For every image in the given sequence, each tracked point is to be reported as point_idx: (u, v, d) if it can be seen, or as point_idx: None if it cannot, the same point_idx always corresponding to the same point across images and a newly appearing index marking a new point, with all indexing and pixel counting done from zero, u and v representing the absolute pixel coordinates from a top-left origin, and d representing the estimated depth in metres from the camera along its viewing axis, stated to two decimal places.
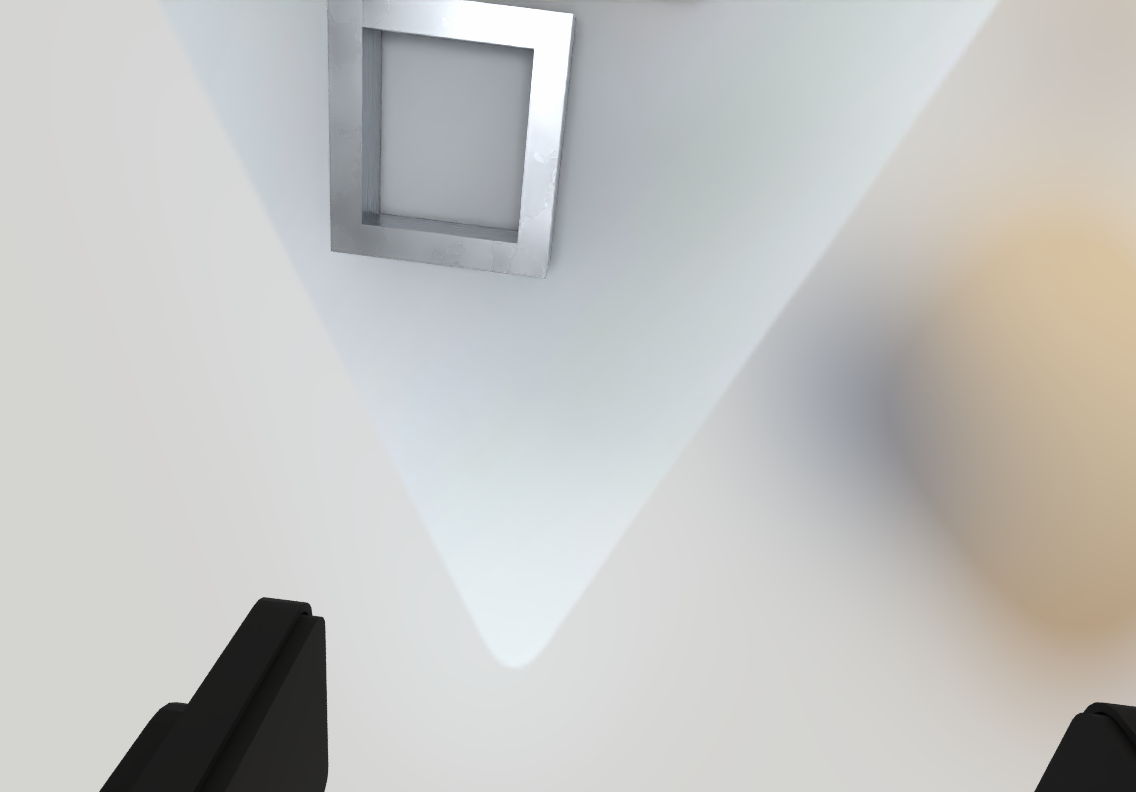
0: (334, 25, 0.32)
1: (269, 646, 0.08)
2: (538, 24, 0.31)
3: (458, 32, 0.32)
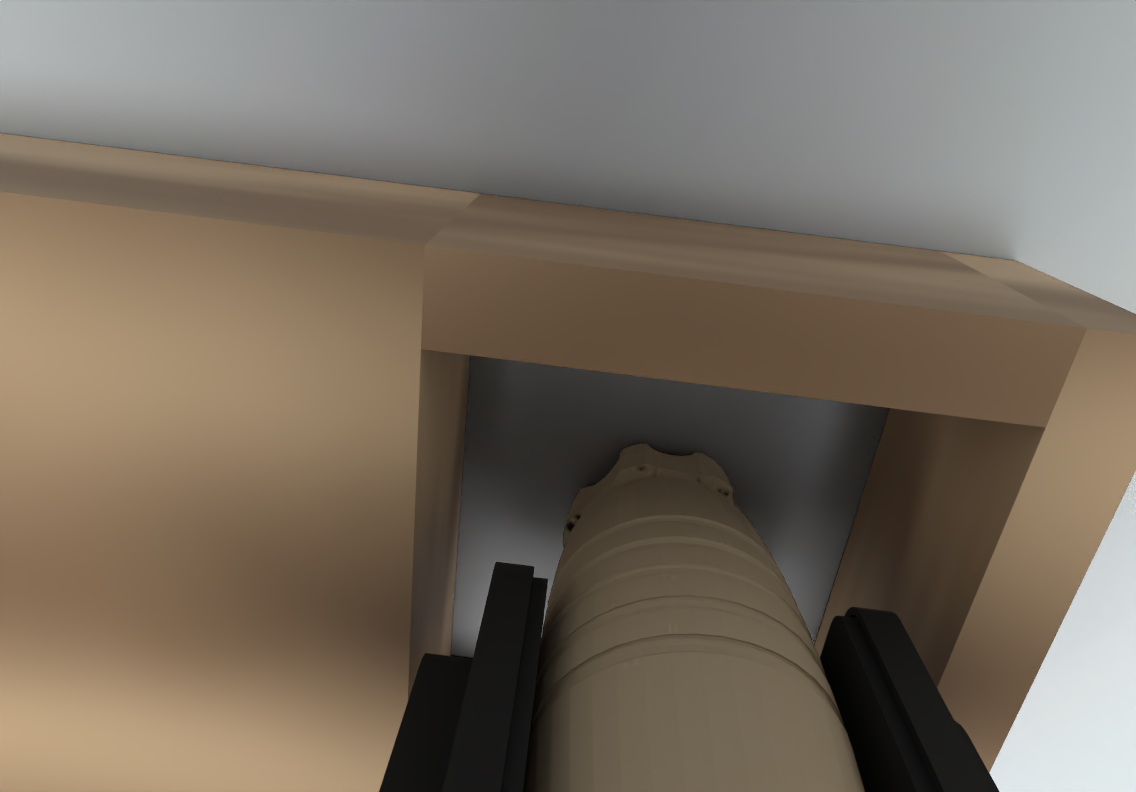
0: None
1: (521, 601, 0.09)
2: None
3: None
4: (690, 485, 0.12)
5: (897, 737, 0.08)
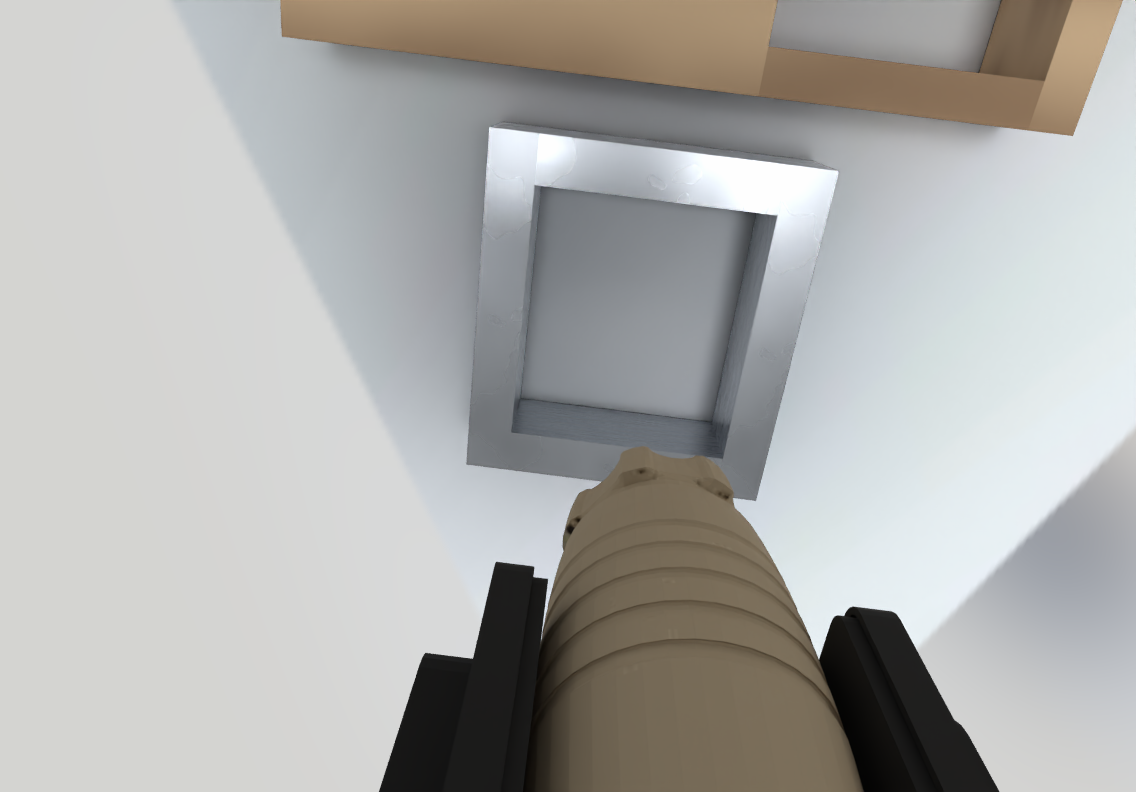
0: (495, 183, 0.23)
1: (521, 601, 0.09)
2: (787, 184, 0.22)
3: (671, 194, 0.22)
4: (689, 488, 0.12)
5: (897, 737, 0.08)
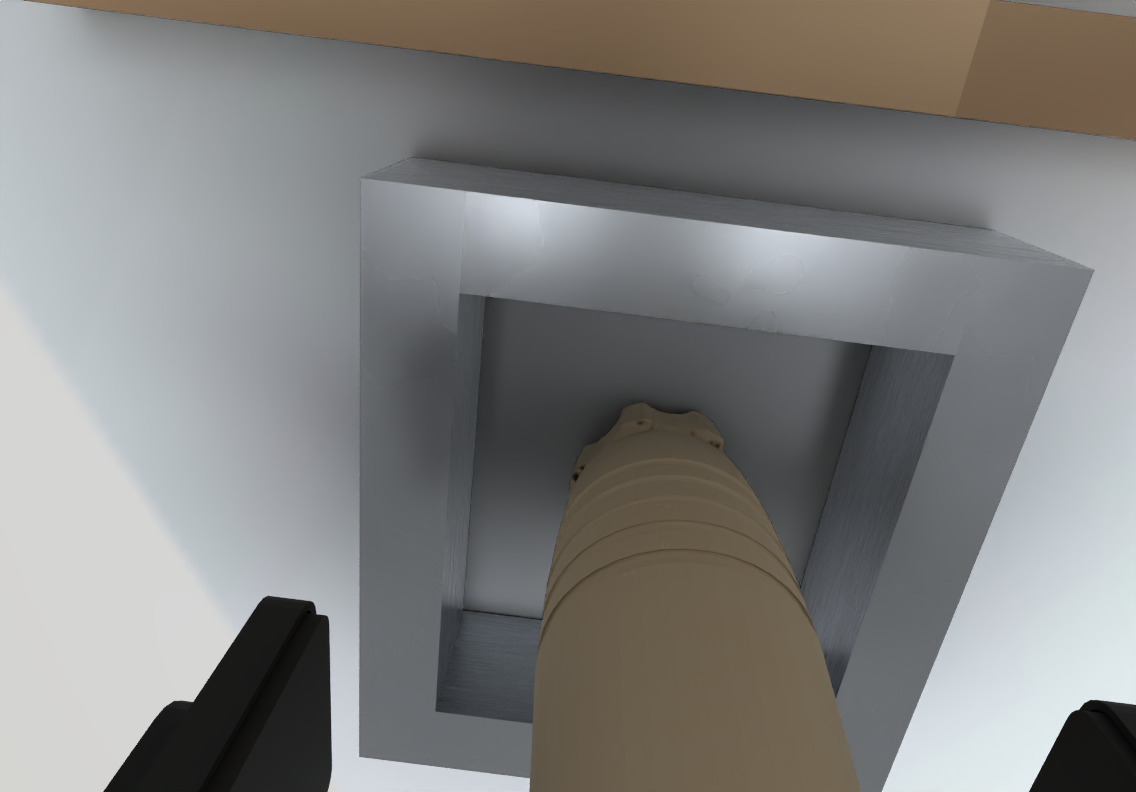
0: (379, 288, 0.11)
1: (274, 644, 0.08)
2: (981, 295, 0.11)
3: (738, 313, 0.11)
4: (683, 436, 0.13)
5: None
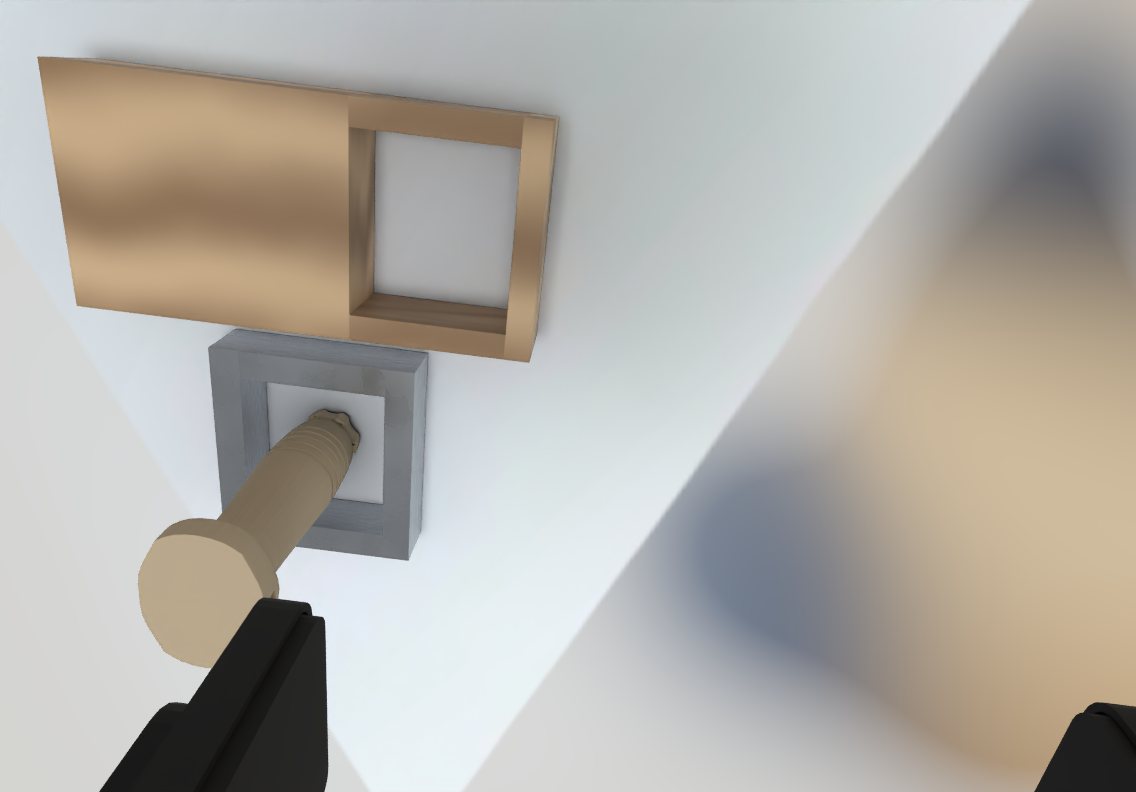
0: (216, 377, 0.38)
1: (270, 646, 0.08)
2: (386, 380, 0.37)
3: (320, 384, 0.38)
4: (324, 420, 0.40)
5: None
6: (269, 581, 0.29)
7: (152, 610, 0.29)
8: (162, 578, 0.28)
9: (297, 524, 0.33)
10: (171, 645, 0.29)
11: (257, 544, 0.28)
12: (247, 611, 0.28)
